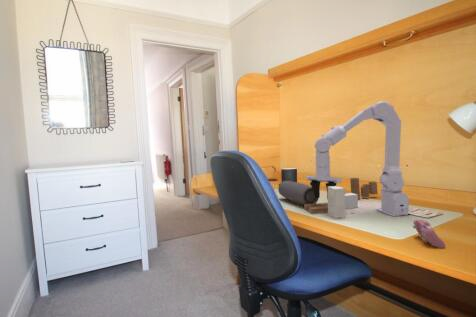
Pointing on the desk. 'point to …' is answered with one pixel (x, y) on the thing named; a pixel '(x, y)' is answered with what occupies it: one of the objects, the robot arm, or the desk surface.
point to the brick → (351, 200)
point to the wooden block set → (363, 188)
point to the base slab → (316, 208)
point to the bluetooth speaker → (297, 192)
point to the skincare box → (336, 202)
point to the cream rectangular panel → (349, 213)
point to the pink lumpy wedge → (428, 233)
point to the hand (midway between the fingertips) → (323, 198)
